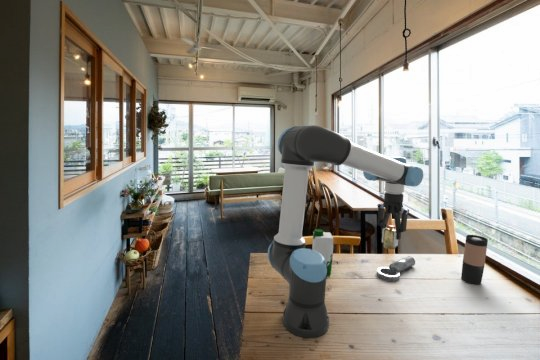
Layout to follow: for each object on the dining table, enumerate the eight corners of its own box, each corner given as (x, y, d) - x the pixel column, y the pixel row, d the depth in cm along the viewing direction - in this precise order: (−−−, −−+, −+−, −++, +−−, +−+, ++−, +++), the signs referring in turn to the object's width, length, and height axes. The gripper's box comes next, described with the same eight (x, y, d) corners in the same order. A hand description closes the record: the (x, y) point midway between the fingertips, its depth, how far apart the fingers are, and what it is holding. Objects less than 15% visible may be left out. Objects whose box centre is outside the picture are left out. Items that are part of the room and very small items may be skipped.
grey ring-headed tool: (391, 283, 118) (392, 273, 117) (372, 274, 125) (373, 264, 125) (419, 269, 132) (420, 260, 131) (401, 262, 139) (402, 253, 138)
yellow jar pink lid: (391, 250, 119) (393, 228, 118) (381, 246, 123) (383, 225, 122) (397, 247, 122) (399, 226, 121) (387, 244, 126) (389, 223, 124)
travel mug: (474, 277, 125) (480, 235, 122) (486, 286, 117) (492, 241, 114) (456, 276, 126) (462, 234, 123) (466, 285, 118) (472, 240, 115)
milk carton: (310, 267, 131) (312, 227, 128) (329, 268, 131) (331, 227, 128) (312, 276, 122) (314, 233, 119) (333, 277, 122) (335, 234, 119)
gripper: (419, 195, 114) (414, 248, 117) (380, 188, 128) (376, 236, 132) (409, 197, 110) (404, 252, 113) (370, 190, 124) (367, 239, 127)
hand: (389, 243), depth 122 cm, fingers closed on yellow jar pink lid, 5 cm apart
